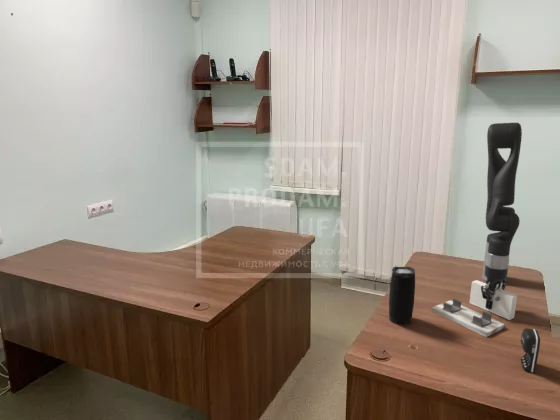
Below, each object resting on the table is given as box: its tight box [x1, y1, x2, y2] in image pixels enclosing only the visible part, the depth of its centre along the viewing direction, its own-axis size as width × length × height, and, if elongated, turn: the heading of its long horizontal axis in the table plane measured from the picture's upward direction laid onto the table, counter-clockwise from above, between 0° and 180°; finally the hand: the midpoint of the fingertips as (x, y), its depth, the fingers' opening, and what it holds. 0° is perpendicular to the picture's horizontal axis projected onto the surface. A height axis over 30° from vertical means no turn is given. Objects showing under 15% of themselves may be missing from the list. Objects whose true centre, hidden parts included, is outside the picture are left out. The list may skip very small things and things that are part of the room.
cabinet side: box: [431, 298, 506, 338], centre depth 156 cm, size 11×22×4 cm, turn 33°
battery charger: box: [520, 327, 541, 374], centre depth 128 cm, size 7×4×11 cm, turn 160°
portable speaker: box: [388, 265, 416, 325], centre depth 154 cm, size 9×9×20 cm
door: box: [469, 279, 518, 321], centre depth 162 cm, size 4×16×9 cm, turn 33°
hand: (491, 307), depth 163 cm, fingers closed on door, 3 cm apart
